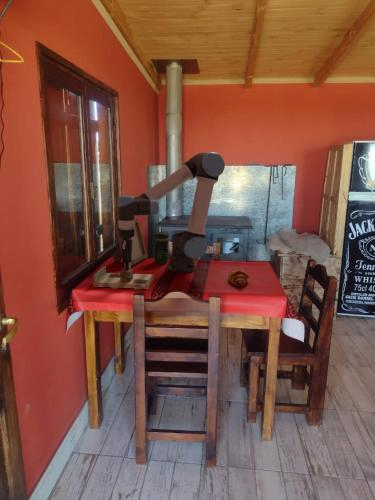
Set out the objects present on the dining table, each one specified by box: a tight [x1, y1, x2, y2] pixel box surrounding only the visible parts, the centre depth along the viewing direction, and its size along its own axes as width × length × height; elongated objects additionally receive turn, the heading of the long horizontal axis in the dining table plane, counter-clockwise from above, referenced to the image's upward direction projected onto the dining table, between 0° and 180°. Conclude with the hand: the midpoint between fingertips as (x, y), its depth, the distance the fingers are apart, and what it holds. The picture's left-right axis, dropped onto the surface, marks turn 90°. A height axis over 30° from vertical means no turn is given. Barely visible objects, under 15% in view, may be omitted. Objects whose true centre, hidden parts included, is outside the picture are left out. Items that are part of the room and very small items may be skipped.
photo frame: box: [113, 218, 148, 267], centre depth 214 cm, size 15×22×25 cm
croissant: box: [227, 269, 249, 287], centre depth 181 cm, size 21×10×8 cm, turn 0°
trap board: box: [92, 265, 154, 290], centre depth 177 cm, size 26×16×6 cm, turn 85°
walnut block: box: [119, 268, 134, 282], centre depth 174 cm, size 5×5×5 cm
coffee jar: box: [154, 230, 170, 264], centre depth 215 cm, size 10×8×19 cm
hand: (127, 275), depth 177 cm, fingers closed
